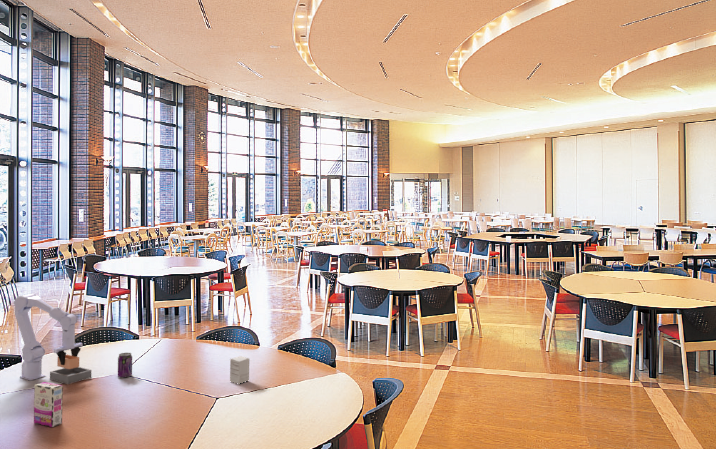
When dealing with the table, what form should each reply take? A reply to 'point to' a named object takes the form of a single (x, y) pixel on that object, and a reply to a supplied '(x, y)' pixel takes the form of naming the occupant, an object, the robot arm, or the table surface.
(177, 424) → the table surface
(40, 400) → the candy bar box
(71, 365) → the box
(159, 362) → the table surface
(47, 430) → the table surface
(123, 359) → the beverage can
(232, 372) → the grey drawer cabinet
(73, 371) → the big crate
